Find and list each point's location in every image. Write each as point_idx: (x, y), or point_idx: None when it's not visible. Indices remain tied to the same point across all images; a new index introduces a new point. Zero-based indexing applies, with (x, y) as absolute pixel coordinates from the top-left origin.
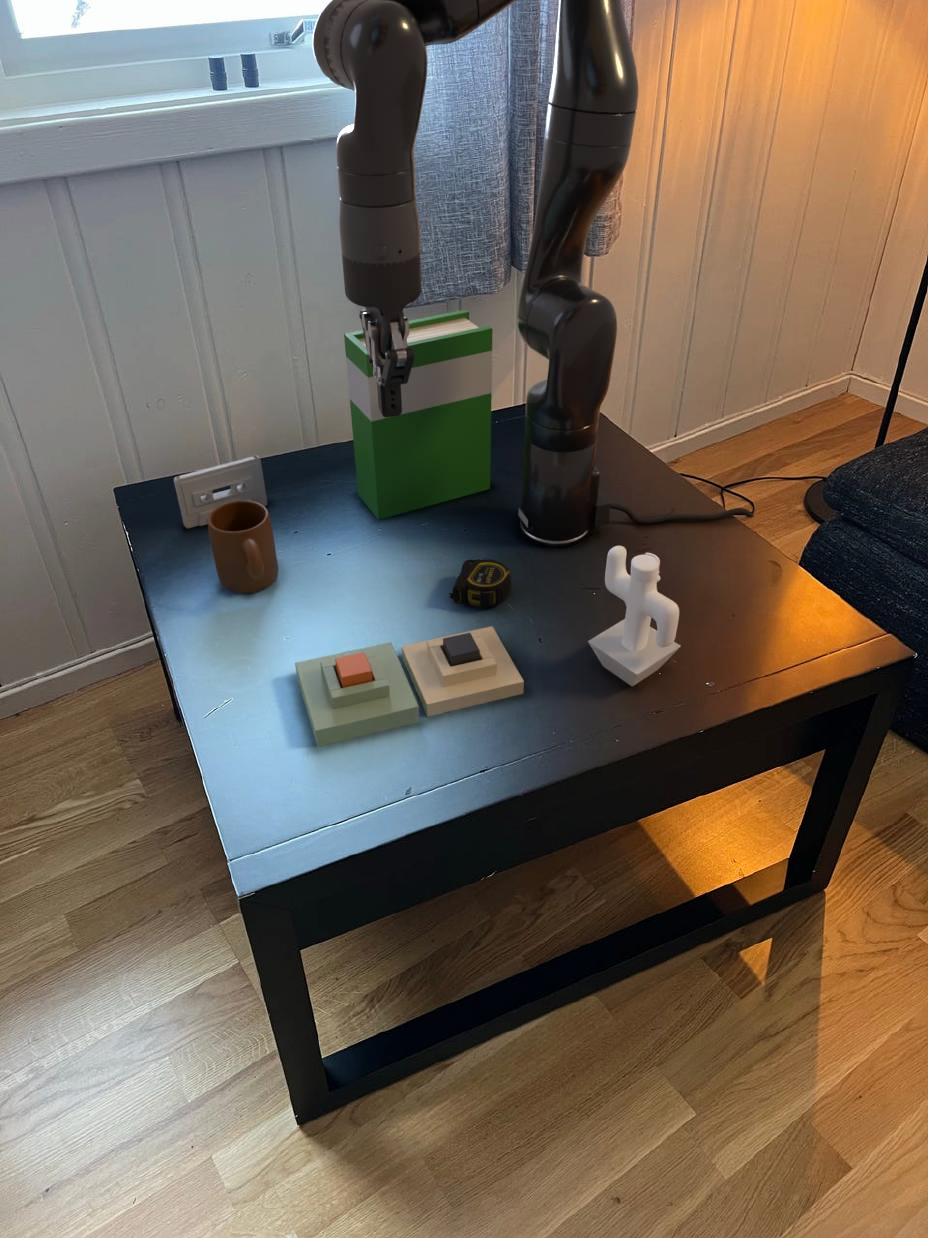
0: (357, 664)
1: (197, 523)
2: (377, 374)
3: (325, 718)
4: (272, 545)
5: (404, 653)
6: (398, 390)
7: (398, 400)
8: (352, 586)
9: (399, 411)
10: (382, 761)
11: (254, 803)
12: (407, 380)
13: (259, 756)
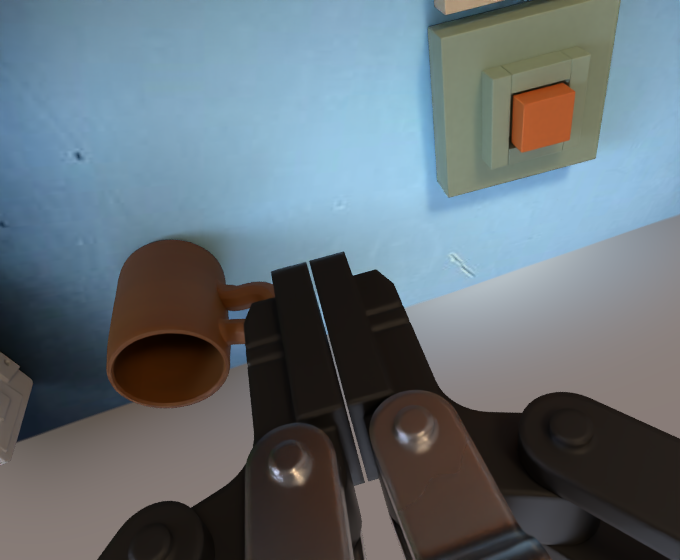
0: (551, 116)
1: (17, 372)
2: (361, 531)
3: (578, 146)
4: (178, 284)
5: (467, 9)
6: (430, 371)
7: (409, 323)
8: (195, 105)
9: (378, 273)
10: (644, 51)
11: (627, 205)
12: (627, 418)
13: (561, 210)
